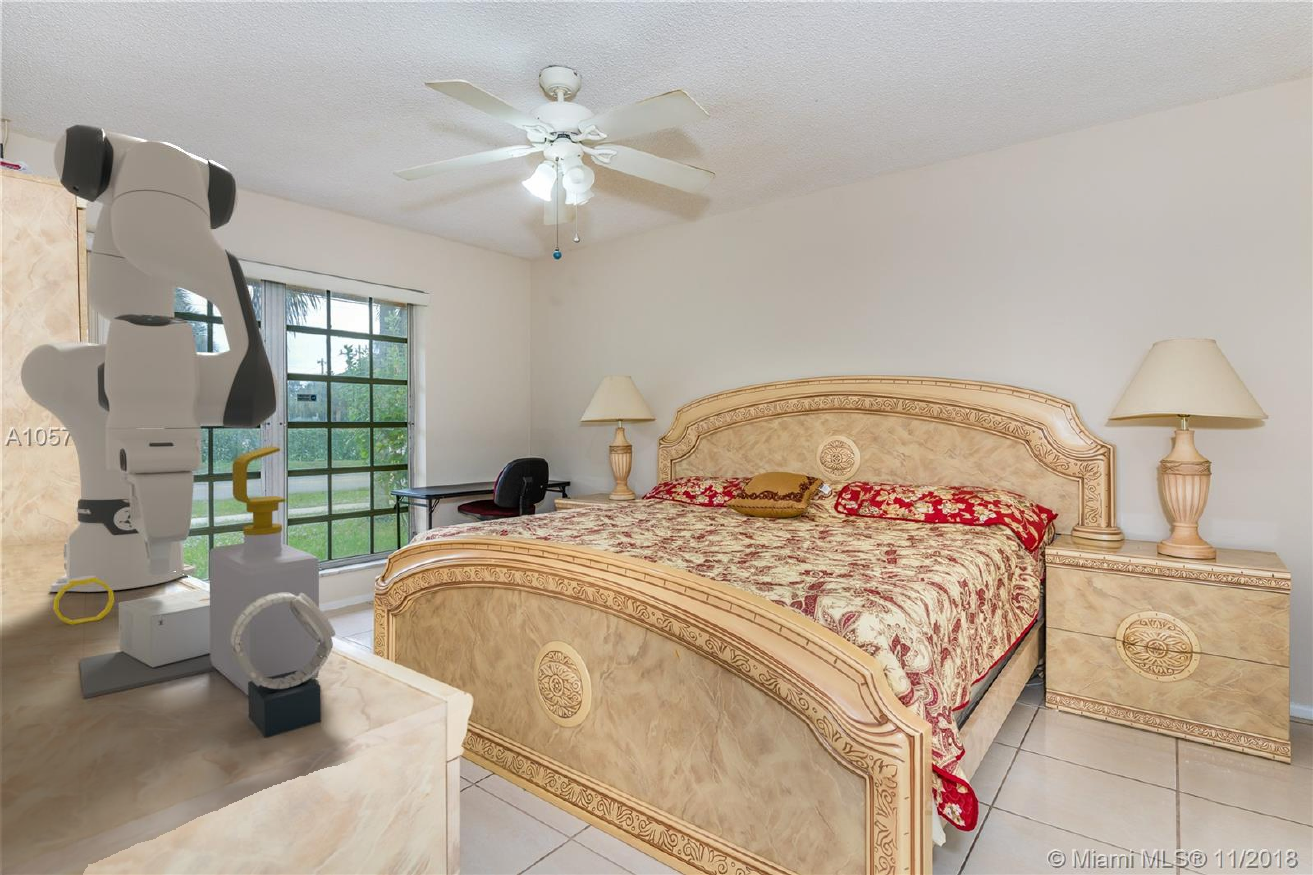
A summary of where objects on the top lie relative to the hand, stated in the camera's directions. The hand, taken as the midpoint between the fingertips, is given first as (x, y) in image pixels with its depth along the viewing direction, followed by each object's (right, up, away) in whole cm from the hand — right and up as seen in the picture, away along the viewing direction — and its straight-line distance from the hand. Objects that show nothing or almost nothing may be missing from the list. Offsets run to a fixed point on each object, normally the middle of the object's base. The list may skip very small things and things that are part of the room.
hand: (158, 572), depth 77 cm
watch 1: (-18, -9, +11) cm, 23 cm away
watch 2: (+25, -9, -19) cm, 33 cm away
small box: (-1, -6, +1) cm, 6 cm away
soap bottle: (+17, -9, -8) cm, 21 cm away
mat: (+4, -9, -5) cm, 11 cm away
